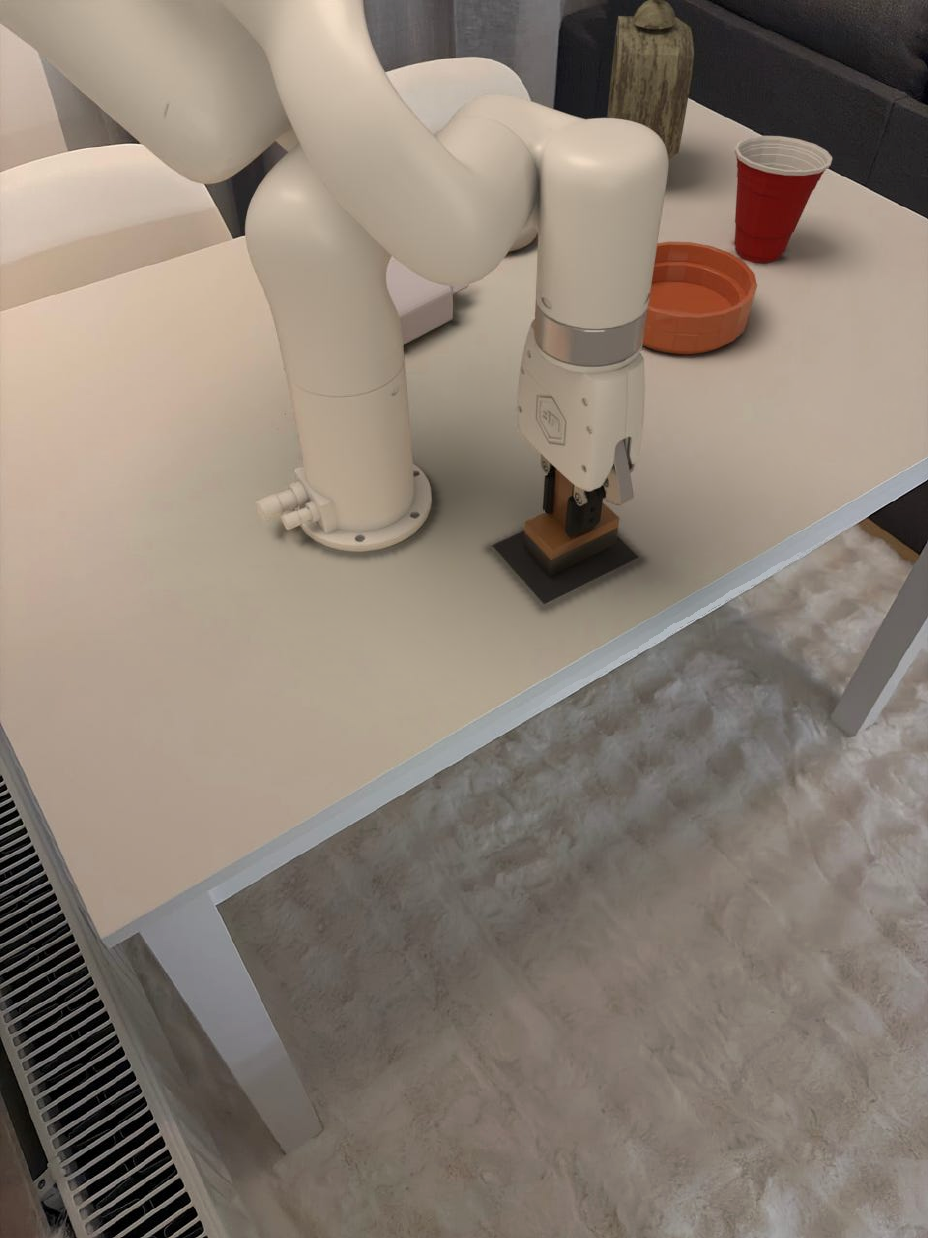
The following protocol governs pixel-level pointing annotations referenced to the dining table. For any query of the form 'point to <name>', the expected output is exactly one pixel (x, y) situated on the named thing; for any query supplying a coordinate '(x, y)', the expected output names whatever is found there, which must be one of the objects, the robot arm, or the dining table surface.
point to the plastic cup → (773, 192)
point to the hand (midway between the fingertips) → (571, 516)
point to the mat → (567, 578)
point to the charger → (419, 301)
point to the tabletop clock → (652, 71)
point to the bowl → (697, 298)
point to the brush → (555, 545)
